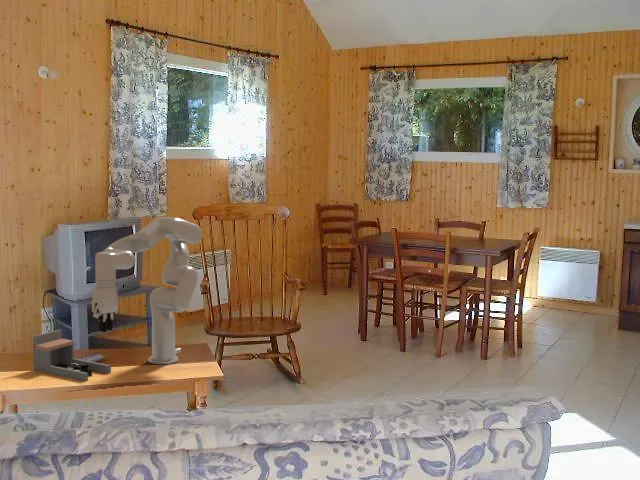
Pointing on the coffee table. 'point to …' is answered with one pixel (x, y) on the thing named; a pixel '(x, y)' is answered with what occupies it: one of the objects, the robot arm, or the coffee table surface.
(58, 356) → the grey forked stand
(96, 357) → the coffee table surface
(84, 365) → the black block
